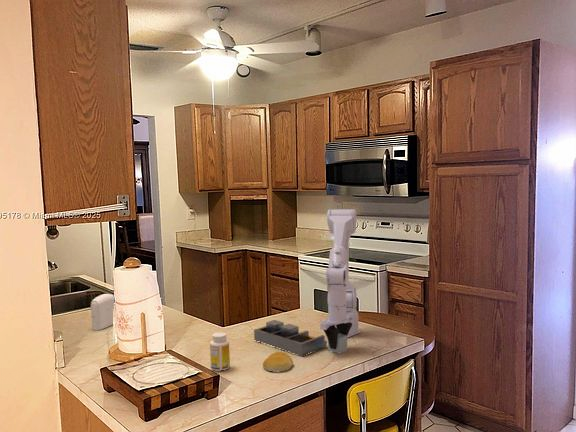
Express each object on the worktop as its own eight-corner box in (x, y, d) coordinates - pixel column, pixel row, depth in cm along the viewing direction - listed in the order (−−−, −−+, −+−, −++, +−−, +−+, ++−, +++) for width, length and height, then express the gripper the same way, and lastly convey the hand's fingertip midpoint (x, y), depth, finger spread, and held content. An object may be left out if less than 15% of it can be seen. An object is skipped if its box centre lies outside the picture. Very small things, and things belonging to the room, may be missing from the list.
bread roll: (259, 371, 145) (258, 358, 144) (271, 360, 153) (271, 348, 152) (285, 375, 141) (285, 361, 141) (296, 364, 150) (296, 351, 149)
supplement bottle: (230, 364, 150) (229, 330, 149) (229, 371, 145) (228, 336, 144) (211, 365, 150) (210, 331, 149) (210, 372, 144) (209, 337, 143)
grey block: (336, 347, 163) (335, 332, 162) (347, 350, 159) (347, 335, 159) (328, 350, 160) (328, 335, 159) (339, 354, 157) (339, 338, 156)
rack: (279, 332, 179) (279, 316, 178) (326, 346, 163) (326, 328, 163) (254, 341, 170) (253, 324, 170) (301, 356, 155) (301, 338, 154)
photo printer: (99, 331, 185) (97, 298, 184) (90, 330, 186) (88, 297, 185) (117, 323, 194) (116, 292, 193) (108, 322, 196) (107, 291, 195)
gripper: (332, 311, 150) (333, 355, 151) (361, 302, 161) (361, 343, 162) (314, 307, 155) (315, 350, 156) (343, 298, 166) (344, 338, 167)
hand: (337, 346), depth 159 cm, fingers closed on grey block, 4 cm apart
